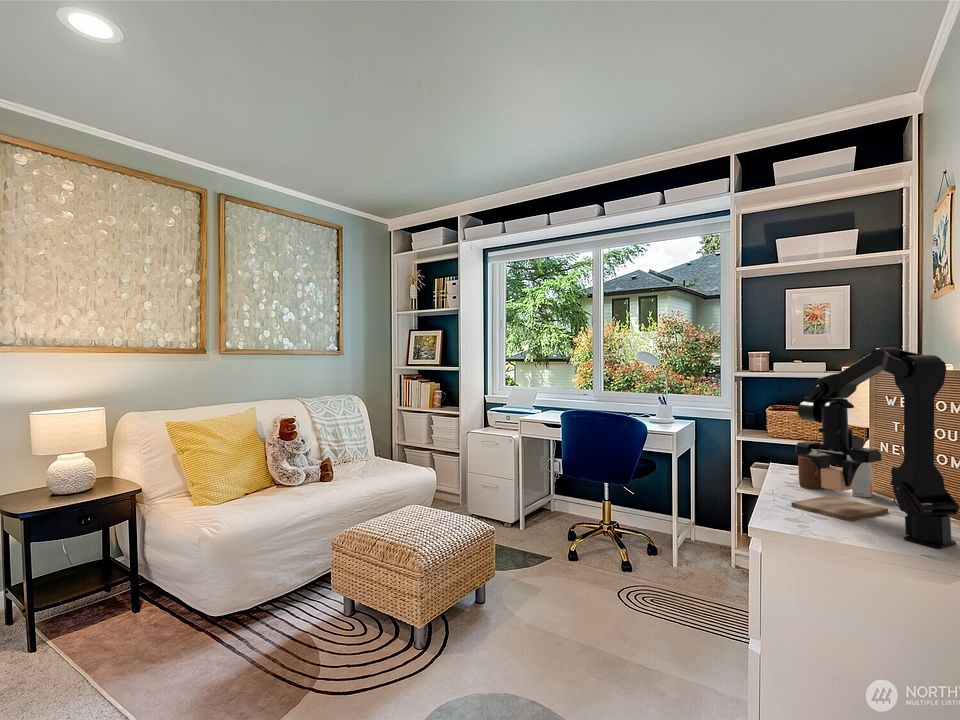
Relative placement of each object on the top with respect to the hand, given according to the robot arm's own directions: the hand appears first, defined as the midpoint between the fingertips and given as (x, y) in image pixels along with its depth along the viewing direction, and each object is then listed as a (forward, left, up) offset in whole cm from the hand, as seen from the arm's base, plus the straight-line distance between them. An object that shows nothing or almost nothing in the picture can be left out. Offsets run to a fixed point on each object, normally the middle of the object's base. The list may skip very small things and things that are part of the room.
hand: (837, 484), depth 134 cm
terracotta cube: (0, 0, -1) cm, 1 cm away
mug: (+17, -16, -7) cm, 24 cm away
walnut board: (0, 0, -7) cm, 7 cm away
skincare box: (+6, -20, -7) cm, 22 cm away
